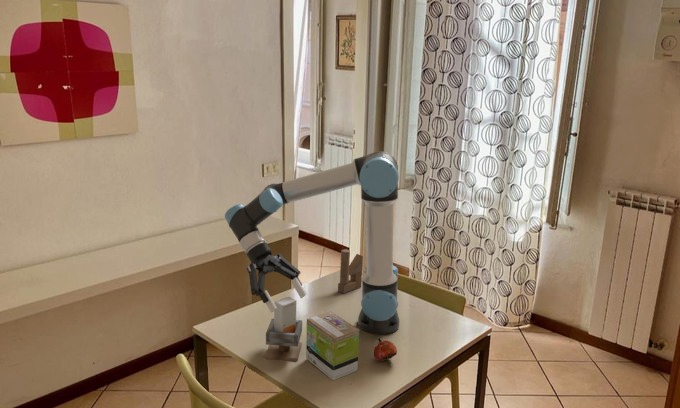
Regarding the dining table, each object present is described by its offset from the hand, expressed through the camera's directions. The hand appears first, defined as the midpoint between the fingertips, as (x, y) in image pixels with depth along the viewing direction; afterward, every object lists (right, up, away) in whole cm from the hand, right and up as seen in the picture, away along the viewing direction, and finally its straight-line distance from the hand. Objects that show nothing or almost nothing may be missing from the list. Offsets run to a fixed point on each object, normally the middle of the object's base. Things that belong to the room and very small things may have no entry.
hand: (289, 303), depth 175 cm
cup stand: (-2, -17, +6) cm, 18 cm away
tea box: (+13, -20, -1) cm, 24 cm away
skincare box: (-2, -11, +5) cm, 12 cm away
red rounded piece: (+31, -19, +2) cm, 36 cm away
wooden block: (+20, -4, +56) cm, 60 cm away
